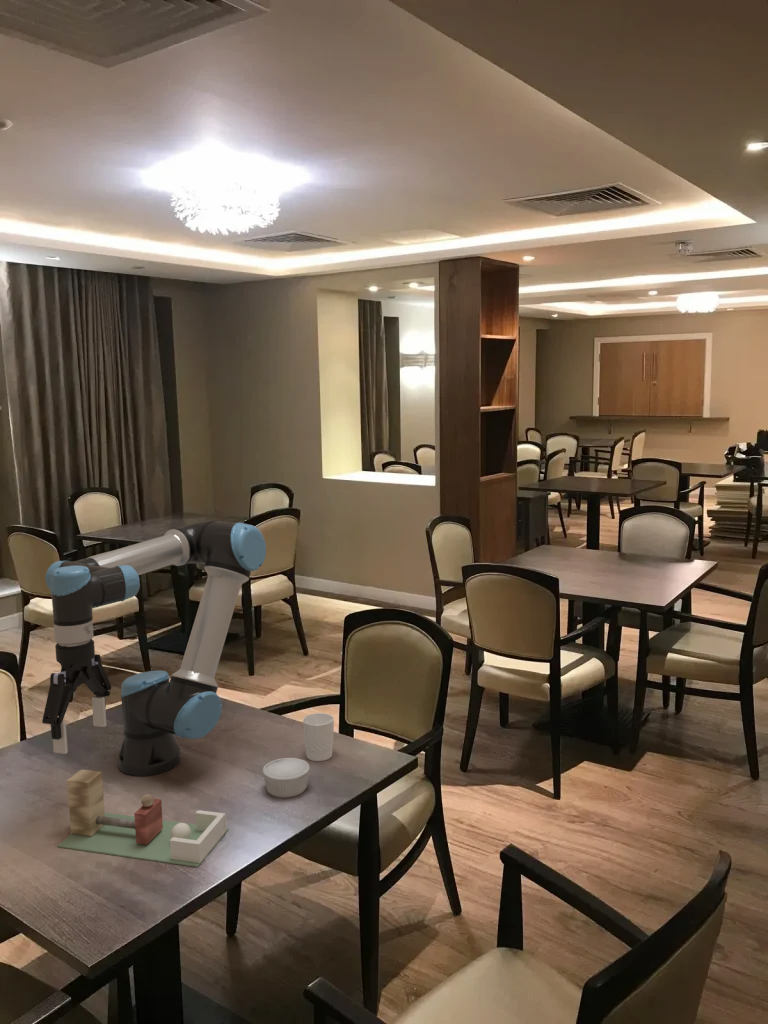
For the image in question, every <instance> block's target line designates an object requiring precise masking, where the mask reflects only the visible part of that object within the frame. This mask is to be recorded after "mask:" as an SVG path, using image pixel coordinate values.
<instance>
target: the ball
mask: <svg viewBox="0 0 768 1024" xmlns="http://www.w3.org/2000/svg"><path fill="white" fill-rule="evenodd" d="M185 823H186V822H181V823H178V824H176V825H175V826H174V827H173V829H172V831H171V837H172V838H173V837H176V838H183V839H189V838H190V835H191V830H190V827H189V826H188V825H187V824H185Z"/></svg>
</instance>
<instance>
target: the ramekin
mask: <svg viewBox="0 0 768 1024" xmlns="http://www.w3.org/2000/svg"><path fill="white" fill-rule="evenodd" d="M310 768H311V767H310V764H309V763H308V762H307V761H306V760H304V759H302V758H296V757H283V758H277V759H274V760H271V761H269V762H268V763H266V764H265V765H264V766H263V767H262V776H263V778H264V784H265V788H266V791H267V792H268V793H269V794H270V795H271V796H274V797H277V798H292V797H296V796H298V795H300V794H302V793H303V792H305V790H306V789H307V788H308V782H309V775H310V771H311V769H310Z"/></svg>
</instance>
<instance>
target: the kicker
mask: <svg viewBox="0 0 768 1024" xmlns="http://www.w3.org/2000/svg"><path fill="white" fill-rule="evenodd" d="M66 787H67V797H68V798H67V799H68V812H69V823H70V824H69V825H70V834H79V835H86V836H92V835H94V834H95V833H96V832H97V831H98V830H99V829H100V828H101V827H102V826H104V825H109V826H116V827H124V828H131V829H135V832H136V843H139V844H146V845H147V844H148V843H149V842H150V841H151V840H152V839H153V838H154V837H155V836H156V835H157V834H158V833H159V832H160V831H161V830H162V829H163V821H162V820H163V809H162V808H163V806H162V799H161V798H155V797H154V795H153V794H152V793H146V794H144V795H143V796H142V797H141V800H140V802H141V803H140V804H141V807H139V808H138V809H137V810H136V811H135V812H134V815H133V816H135V821H133V820H126V819H118V818H110V817H105V813H106V812H105V799H104V785H103V772H102V771H96V770H89V769H80V770H78V771H77V772H76V773H74V774H73V775H72V776H70V777H69V778H68V779H67V780H66Z"/></svg>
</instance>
